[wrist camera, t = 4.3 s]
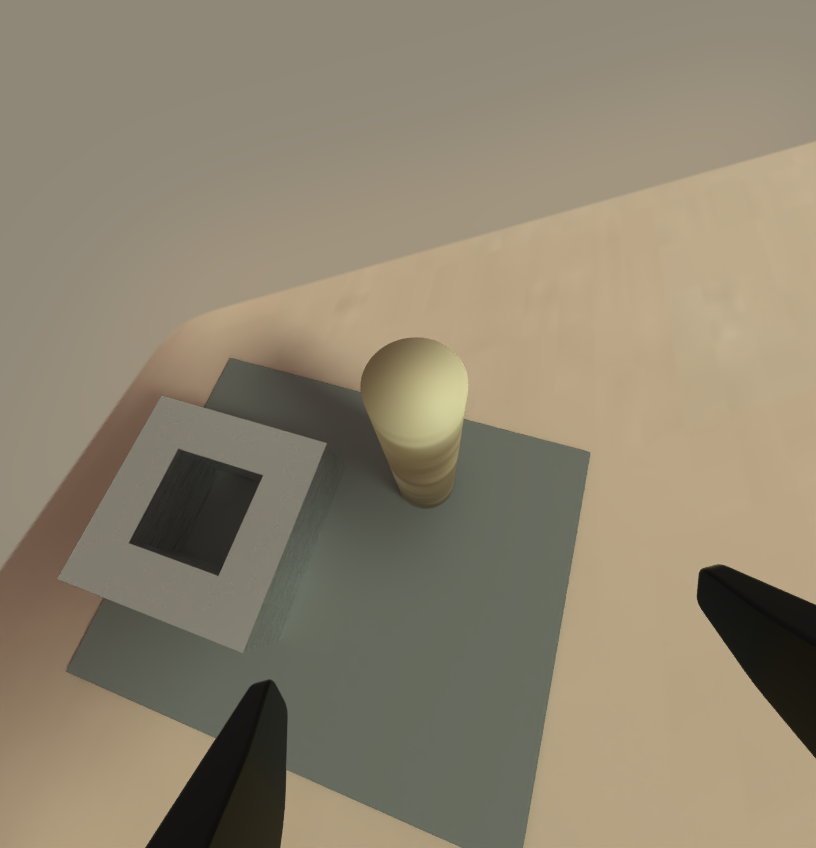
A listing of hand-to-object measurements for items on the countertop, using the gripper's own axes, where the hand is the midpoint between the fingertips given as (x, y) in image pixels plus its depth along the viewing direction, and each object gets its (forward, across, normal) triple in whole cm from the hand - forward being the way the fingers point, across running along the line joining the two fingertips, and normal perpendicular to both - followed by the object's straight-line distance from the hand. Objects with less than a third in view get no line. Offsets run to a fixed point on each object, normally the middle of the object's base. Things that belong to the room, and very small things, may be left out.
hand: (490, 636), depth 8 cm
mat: (+11, +5, +6) cm, 14 cm away
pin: (+13, 0, +4) cm, 14 cm away
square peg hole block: (+13, +10, +4) cm, 17 cm away
